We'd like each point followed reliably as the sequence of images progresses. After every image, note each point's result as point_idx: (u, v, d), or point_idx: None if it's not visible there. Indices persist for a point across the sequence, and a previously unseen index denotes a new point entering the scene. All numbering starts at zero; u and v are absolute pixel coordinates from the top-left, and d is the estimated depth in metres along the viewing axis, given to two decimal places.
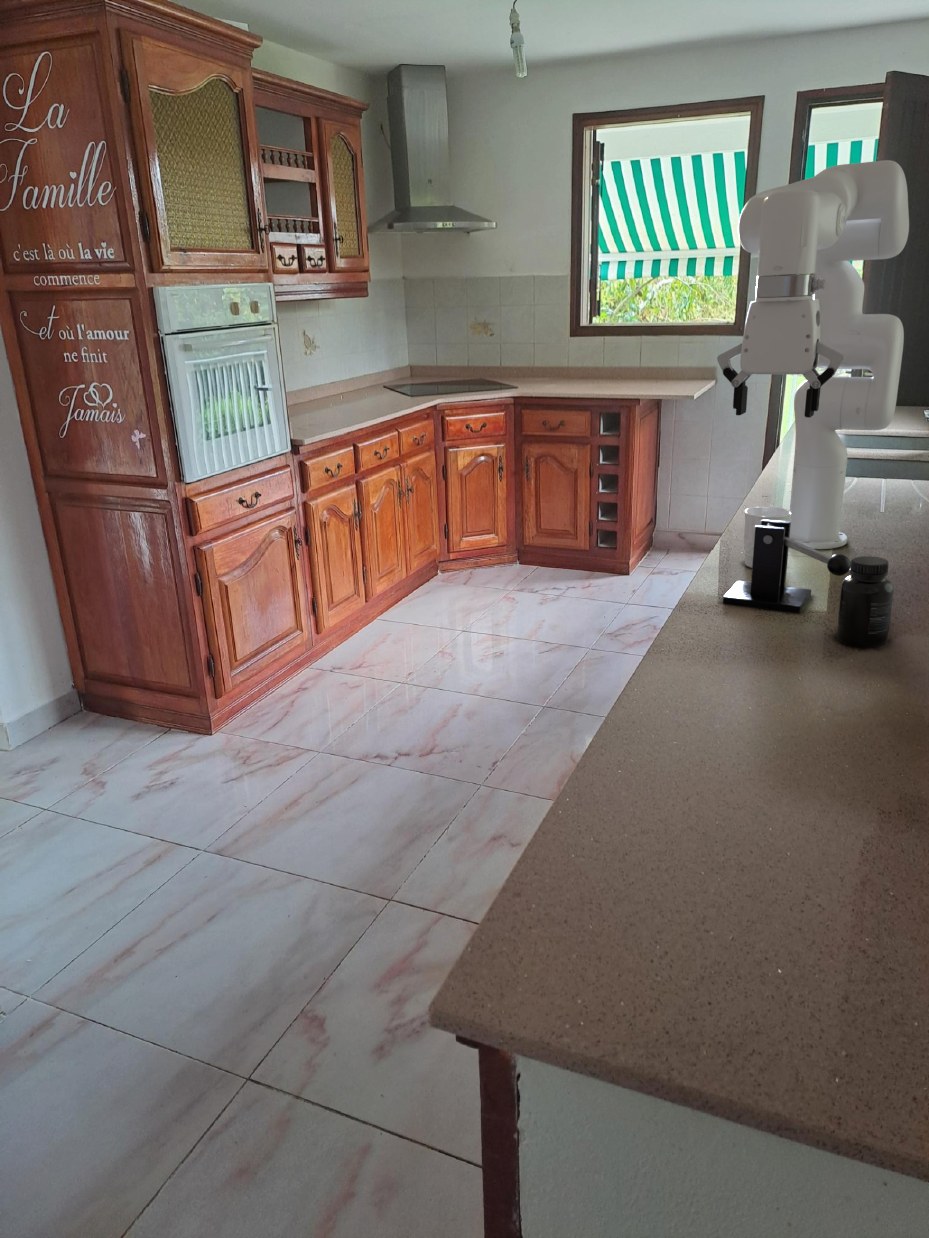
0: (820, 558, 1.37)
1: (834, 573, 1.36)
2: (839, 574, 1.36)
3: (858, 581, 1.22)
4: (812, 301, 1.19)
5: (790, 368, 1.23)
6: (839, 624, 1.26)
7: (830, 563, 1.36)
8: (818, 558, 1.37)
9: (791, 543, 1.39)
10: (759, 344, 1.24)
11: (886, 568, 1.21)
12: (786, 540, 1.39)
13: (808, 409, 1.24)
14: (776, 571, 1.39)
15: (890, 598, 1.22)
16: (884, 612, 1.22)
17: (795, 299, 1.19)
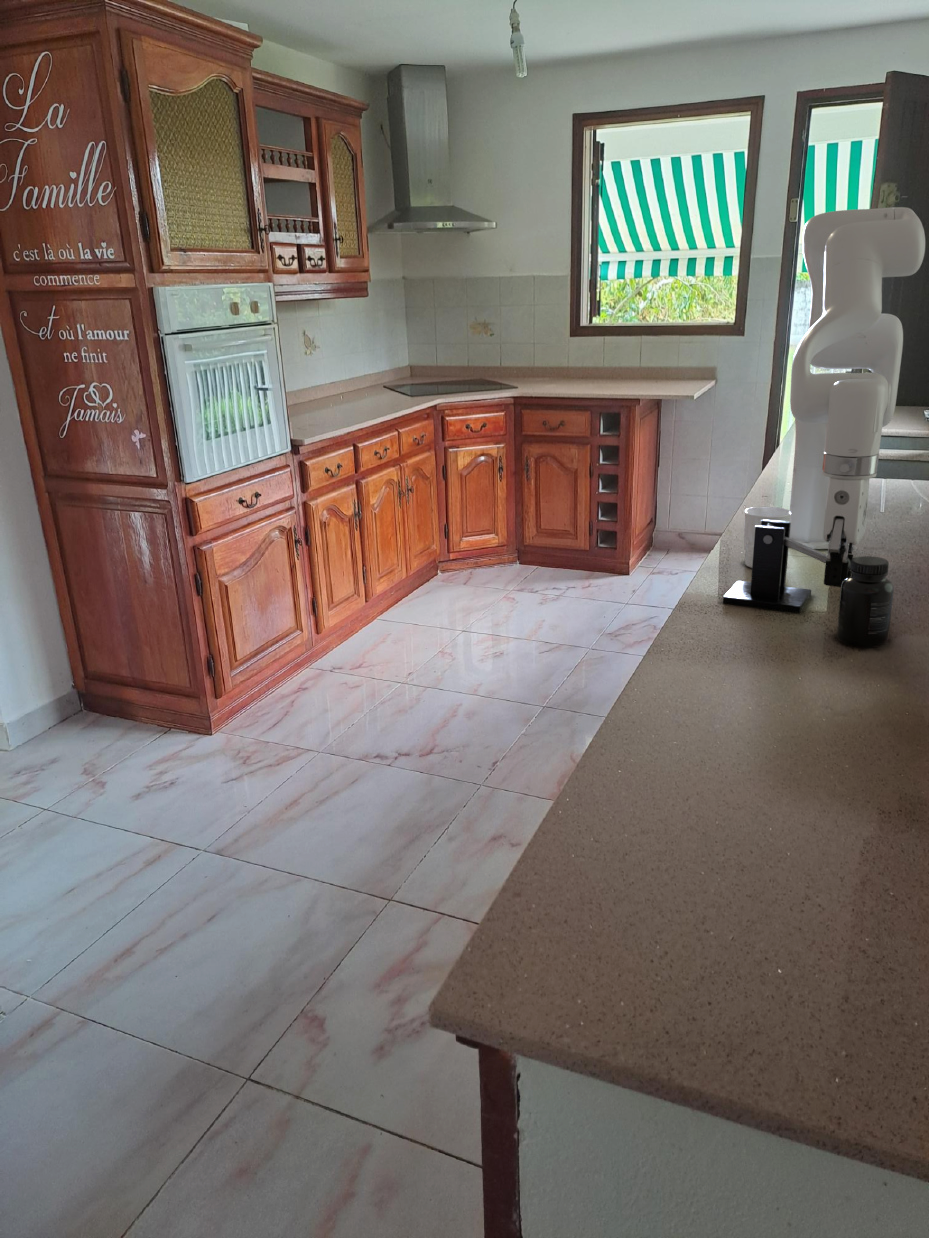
0: (820, 558, 1.37)
1: None
2: None
3: (859, 581, 1.22)
4: (834, 480, 1.29)
5: None
6: (839, 624, 1.26)
7: None
8: (818, 558, 1.37)
9: (791, 543, 1.39)
10: None
11: (886, 568, 1.21)
12: (786, 540, 1.39)
13: (824, 577, 1.36)
14: (776, 571, 1.39)
15: (890, 598, 1.22)
16: (884, 612, 1.22)
17: (825, 475, 1.31)
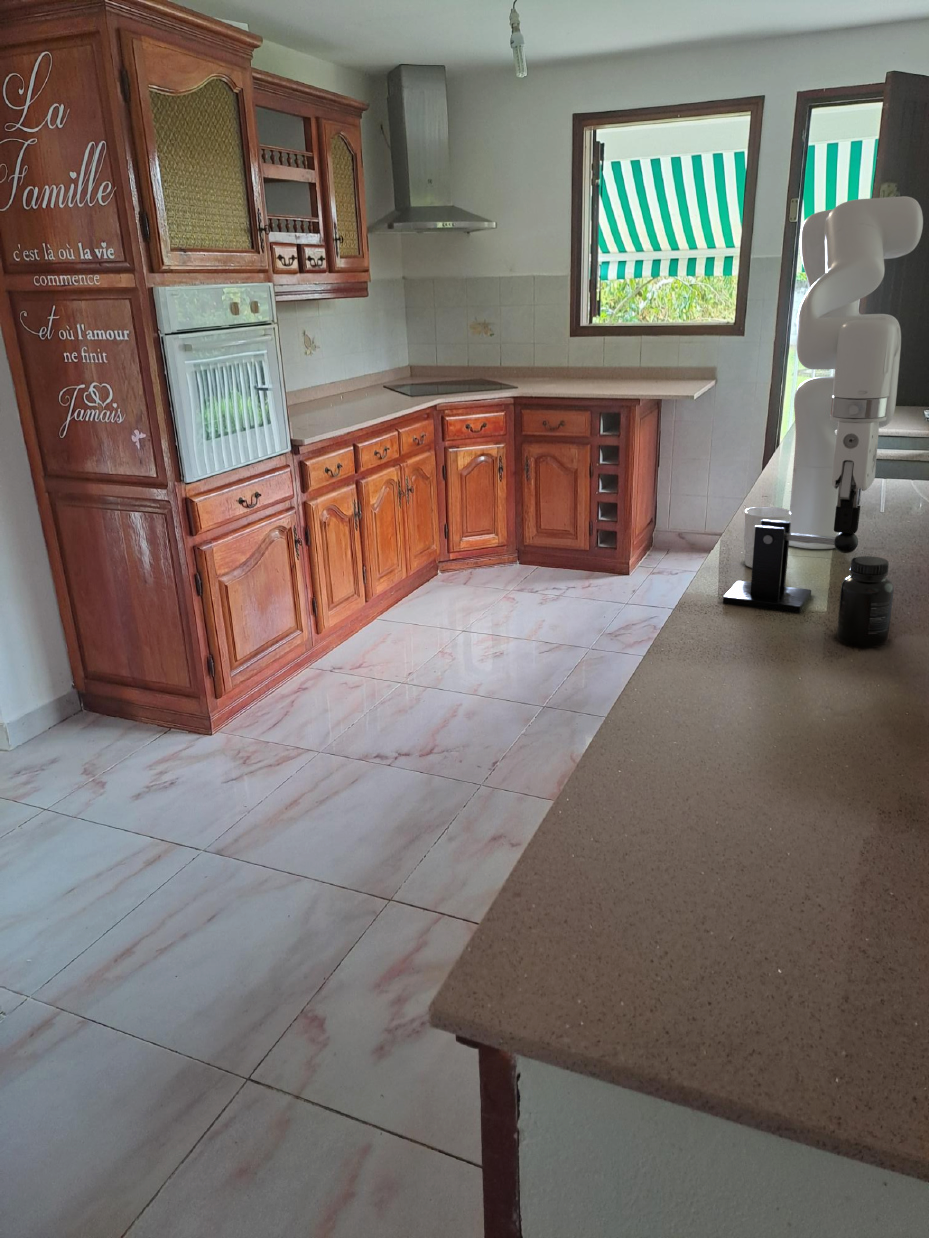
0: (825, 541, 1.36)
1: (844, 551, 1.34)
2: (849, 550, 1.34)
3: (859, 581, 1.22)
4: (842, 424, 1.26)
5: None
6: (839, 624, 1.26)
7: (836, 543, 1.35)
8: (823, 542, 1.36)
9: (793, 536, 1.38)
10: None
11: (886, 568, 1.21)
12: (787, 535, 1.39)
13: None
14: (776, 571, 1.39)
15: (890, 598, 1.22)
16: (884, 612, 1.22)
17: (833, 419, 1.28)
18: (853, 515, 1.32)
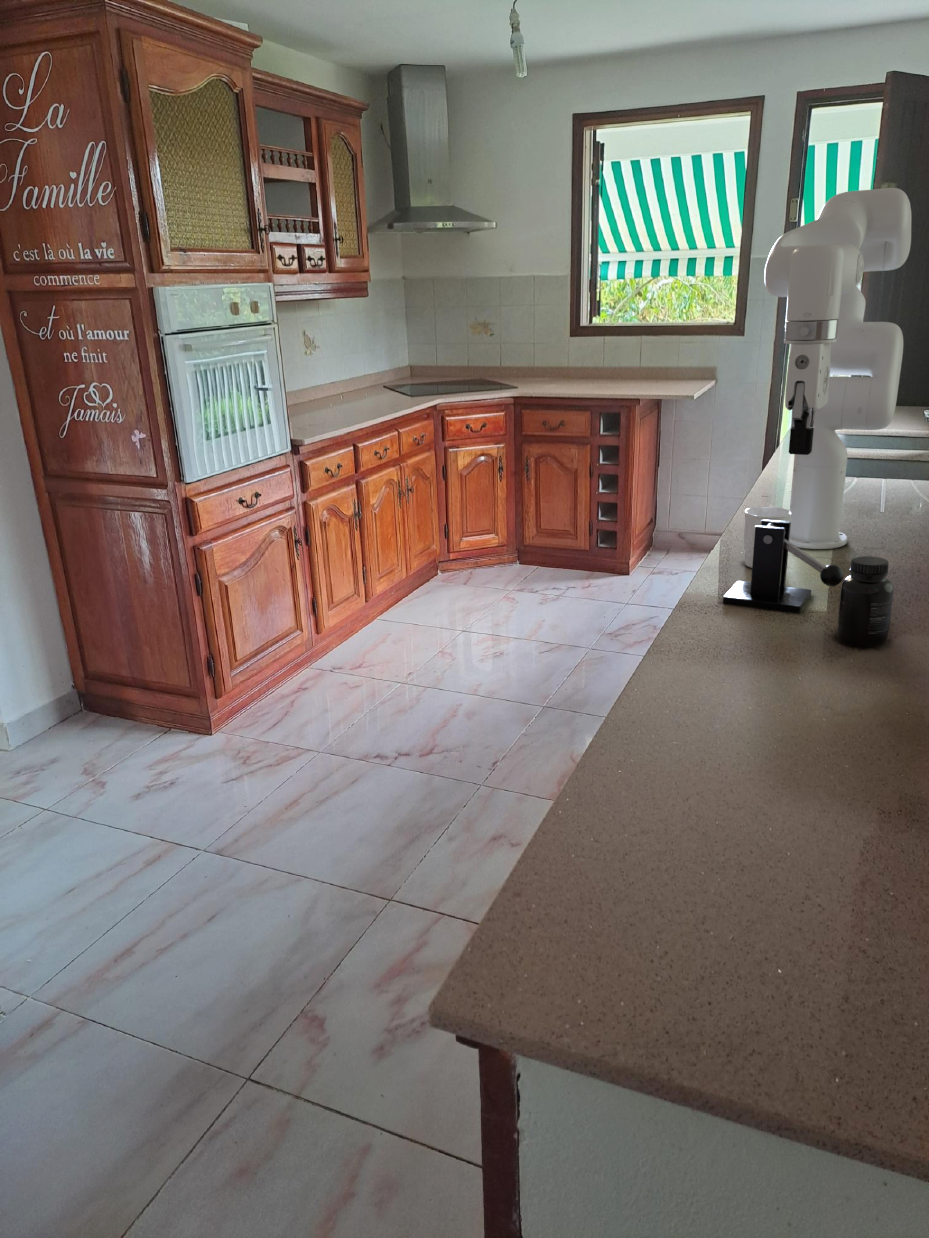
0: (815, 566, 1.38)
1: (826, 583, 1.37)
2: (830, 585, 1.37)
3: (859, 581, 1.22)
4: (794, 346, 1.31)
5: None
6: (839, 624, 1.26)
7: (824, 572, 1.37)
8: (813, 565, 1.38)
9: (789, 546, 1.39)
10: None
11: (886, 568, 1.21)
12: (785, 542, 1.39)
13: (789, 446, 1.40)
14: (776, 571, 1.39)
15: (890, 598, 1.22)
16: (884, 612, 1.22)
17: (786, 342, 1.34)
18: (806, 437, 1.38)
